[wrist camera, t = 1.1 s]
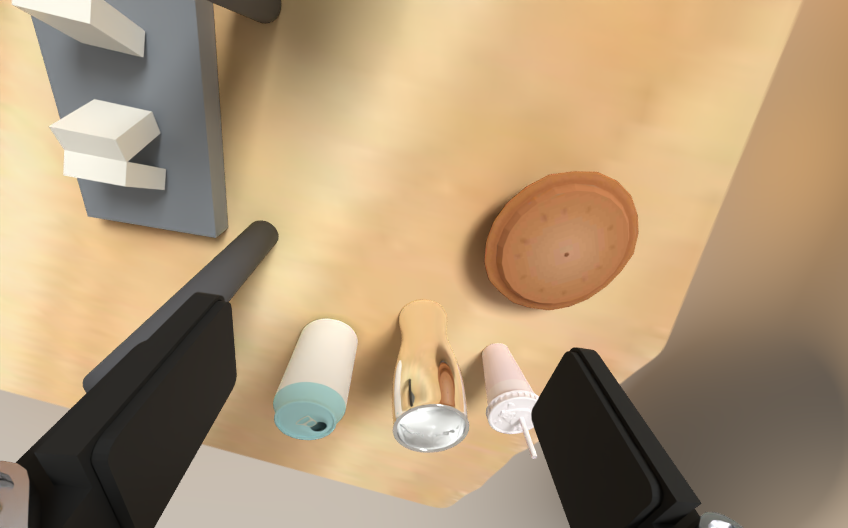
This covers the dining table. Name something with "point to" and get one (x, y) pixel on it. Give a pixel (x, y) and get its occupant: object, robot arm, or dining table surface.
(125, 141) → the middle paddle
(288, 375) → the can
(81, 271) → the dining table surface
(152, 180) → the paddle
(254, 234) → the rod
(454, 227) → the dining table surface
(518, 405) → the smoothie
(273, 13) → the rod
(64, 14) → the paddle
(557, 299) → the pie
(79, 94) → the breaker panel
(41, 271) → the dining table surface
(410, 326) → the beer glass
